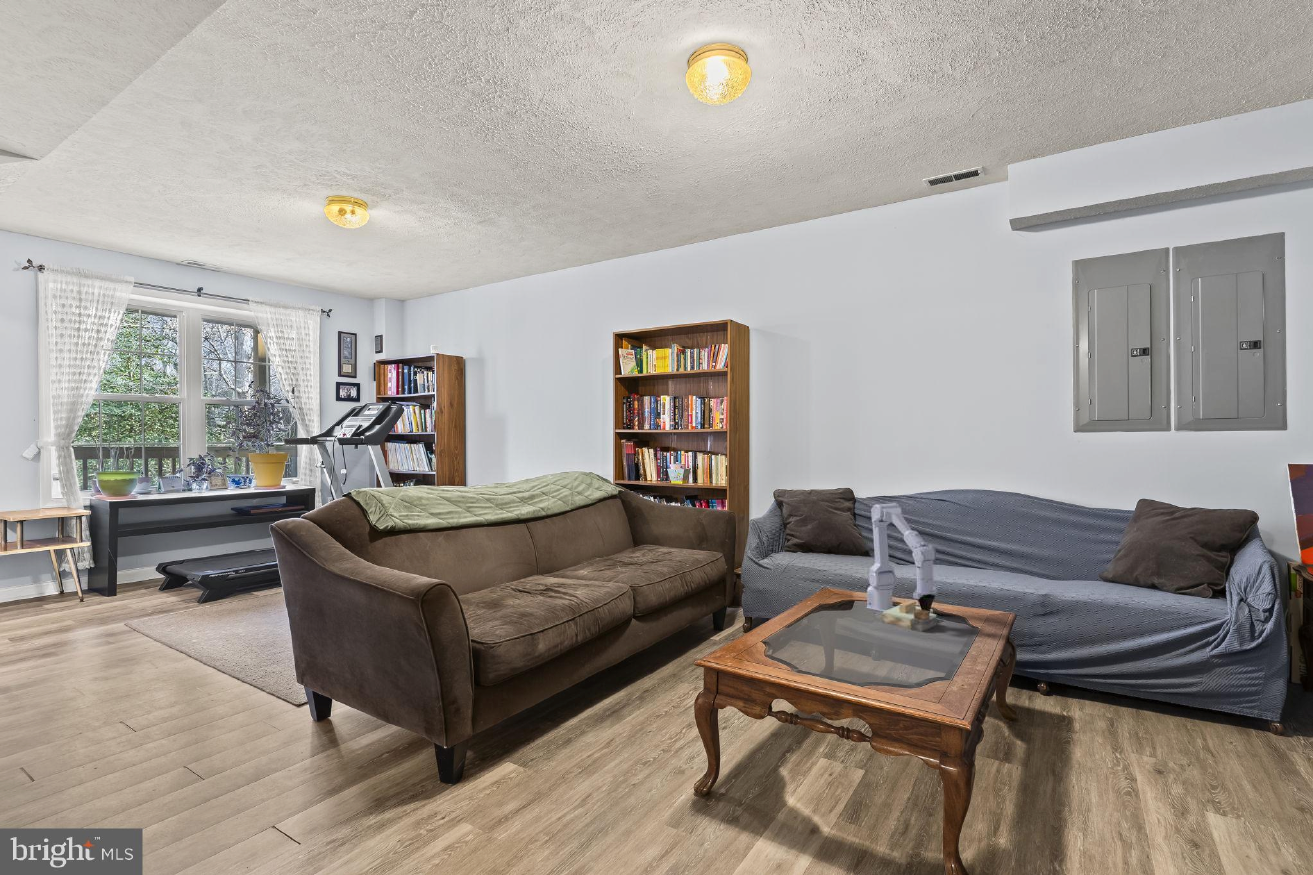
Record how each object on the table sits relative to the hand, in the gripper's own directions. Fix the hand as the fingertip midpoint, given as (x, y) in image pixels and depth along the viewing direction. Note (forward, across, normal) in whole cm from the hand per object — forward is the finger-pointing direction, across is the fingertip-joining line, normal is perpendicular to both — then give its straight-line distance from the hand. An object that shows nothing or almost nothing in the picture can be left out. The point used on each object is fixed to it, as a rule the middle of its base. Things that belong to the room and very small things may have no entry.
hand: (925, 614), depth 235 cm
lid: (+2, +2, +6) cm, 7 cm away
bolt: (0, -3, 0) cm, 3 cm away
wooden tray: (+4, +1, +6) cm, 8 cm away
